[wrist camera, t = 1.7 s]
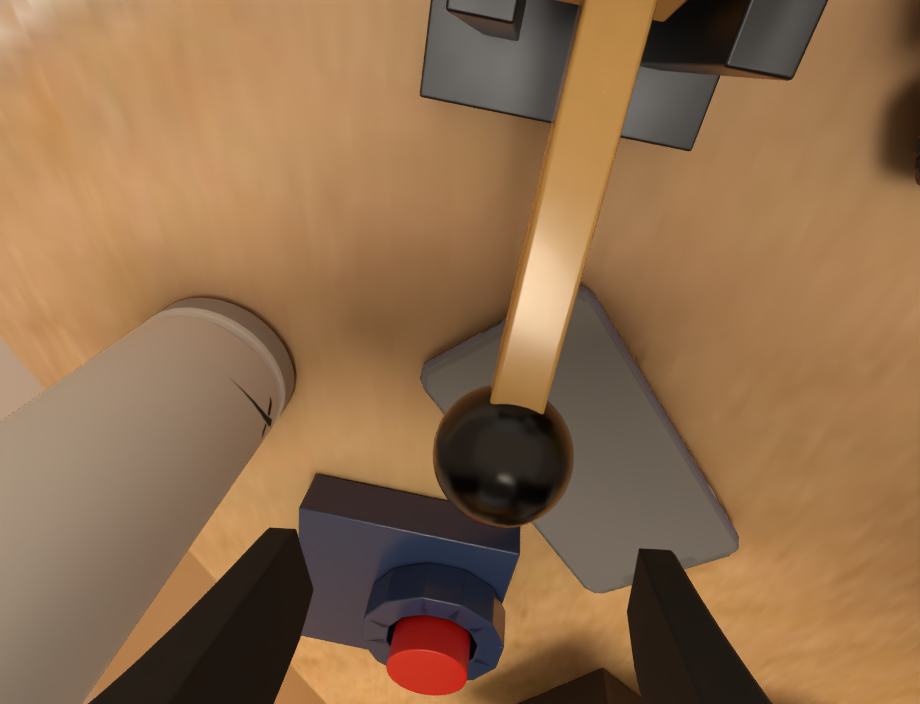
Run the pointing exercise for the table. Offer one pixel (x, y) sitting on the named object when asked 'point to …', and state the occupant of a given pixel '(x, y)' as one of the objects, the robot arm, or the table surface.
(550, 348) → the switch lever
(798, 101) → the table surface
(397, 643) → the red button
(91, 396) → the travel mug
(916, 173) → the toy vehicle
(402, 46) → the table surface
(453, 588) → the control box
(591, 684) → the light fixture
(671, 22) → the switch bracket
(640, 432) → the smartphone
